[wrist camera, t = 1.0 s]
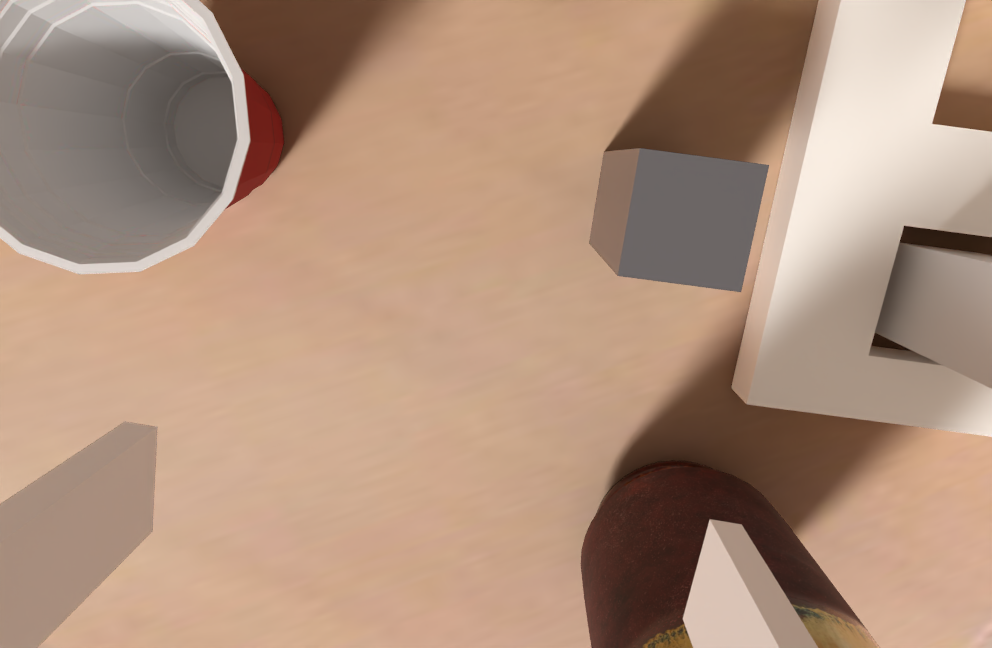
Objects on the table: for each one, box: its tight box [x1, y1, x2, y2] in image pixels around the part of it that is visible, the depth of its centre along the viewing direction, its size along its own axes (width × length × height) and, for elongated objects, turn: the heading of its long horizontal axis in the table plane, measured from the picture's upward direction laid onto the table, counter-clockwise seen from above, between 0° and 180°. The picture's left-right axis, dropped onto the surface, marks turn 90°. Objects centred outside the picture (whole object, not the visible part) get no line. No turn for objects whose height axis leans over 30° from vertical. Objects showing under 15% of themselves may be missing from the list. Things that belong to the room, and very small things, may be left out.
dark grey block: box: [589, 148, 769, 292], centre depth 29 cm, size 5×5×10 cm
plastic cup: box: [0, 0, 284, 274], centre depth 28 cm, size 11×11×12 cm
